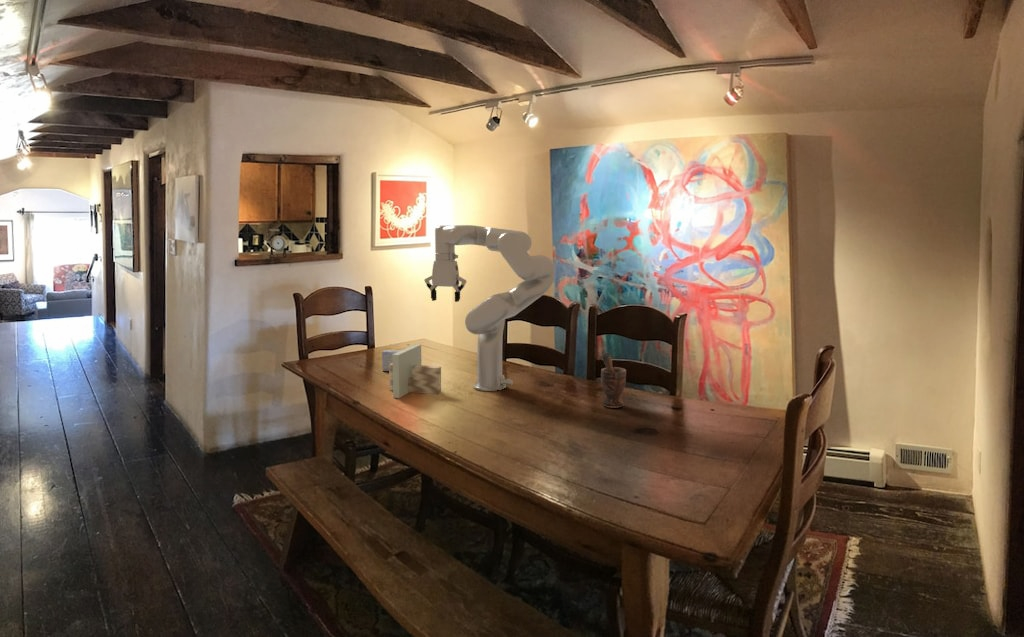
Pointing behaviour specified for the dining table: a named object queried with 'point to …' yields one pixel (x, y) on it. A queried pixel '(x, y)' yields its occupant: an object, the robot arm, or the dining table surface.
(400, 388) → the sage plate
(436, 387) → the maple board
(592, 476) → the dining table surface
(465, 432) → the dining table surface
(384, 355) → the medicine box
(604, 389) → the mortar and pestle
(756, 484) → the dining table surface
